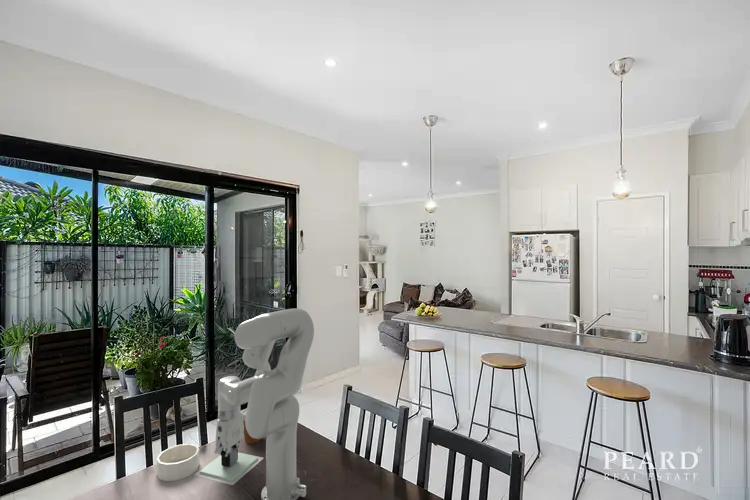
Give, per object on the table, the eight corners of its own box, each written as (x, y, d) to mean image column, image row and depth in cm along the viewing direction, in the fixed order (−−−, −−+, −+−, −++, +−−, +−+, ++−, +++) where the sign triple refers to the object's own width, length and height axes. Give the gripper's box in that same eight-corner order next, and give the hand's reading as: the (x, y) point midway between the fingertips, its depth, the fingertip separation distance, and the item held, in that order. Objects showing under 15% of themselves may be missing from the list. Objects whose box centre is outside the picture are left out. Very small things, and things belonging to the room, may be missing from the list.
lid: (258, 459, 139) (258, 443, 139) (232, 481, 126) (232, 464, 126) (227, 452, 143) (227, 437, 143) (199, 473, 130) (199, 456, 130)
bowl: (206, 463, 137) (206, 447, 137) (177, 485, 124) (177, 467, 124) (179, 457, 141) (179, 441, 141) (148, 477, 129) (148, 460, 129)
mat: (263, 458, 140) (263, 457, 140) (232, 486, 124) (232, 485, 124) (227, 450, 145) (227, 449, 145) (192, 476, 129) (192, 475, 129)
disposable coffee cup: (235, 444, 150) (235, 414, 150) (250, 433, 159) (250, 405, 159) (255, 448, 147) (255, 418, 147) (269, 436, 156) (269, 408, 156)
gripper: (221, 424, 125) (221, 478, 125) (252, 404, 141) (253, 452, 141) (203, 420, 128) (204, 473, 128) (236, 401, 143) (236, 449, 144)
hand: (229, 462), depth 134 cm, fingers closed on lid, 3 cm apart
